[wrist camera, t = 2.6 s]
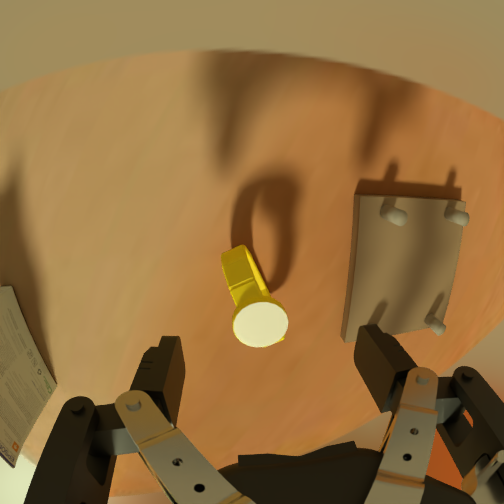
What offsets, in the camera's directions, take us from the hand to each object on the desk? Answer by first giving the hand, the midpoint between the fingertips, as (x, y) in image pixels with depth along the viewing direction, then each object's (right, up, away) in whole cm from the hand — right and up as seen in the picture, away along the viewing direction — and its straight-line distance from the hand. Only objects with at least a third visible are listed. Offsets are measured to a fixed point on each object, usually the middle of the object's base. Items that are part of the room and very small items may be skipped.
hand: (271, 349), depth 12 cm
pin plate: (+11, +3, +8) cm, 14 cm away
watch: (-1, +3, +8) cm, 8 cm away
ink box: (-22, -4, +8) cm, 24 cm away
